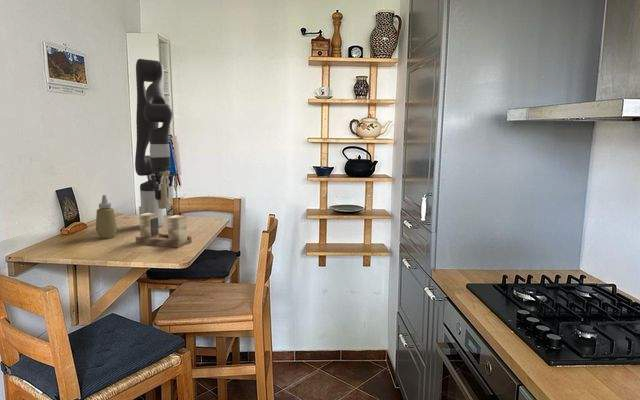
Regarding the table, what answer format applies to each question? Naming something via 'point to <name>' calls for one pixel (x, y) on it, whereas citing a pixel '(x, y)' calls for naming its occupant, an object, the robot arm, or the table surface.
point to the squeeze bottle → (105, 220)
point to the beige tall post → (163, 192)
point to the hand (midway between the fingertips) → (162, 198)
